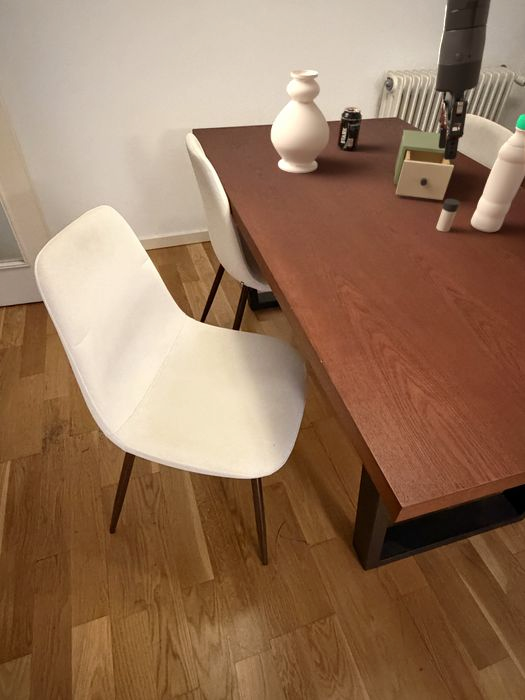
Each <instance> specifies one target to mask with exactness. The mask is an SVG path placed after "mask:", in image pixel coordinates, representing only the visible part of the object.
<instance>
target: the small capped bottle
mask: <svg viewBox="0 0 525 700" xmlns="http://www.w3.org/2000/svg"><path fill="white" fill-rule="evenodd" d="M460 204H461V202H460V201H459V200H458V199H455V198H446V199H445V200H444V202H443V205H442V209H441V212H440V215H439V218H438V220H437V224H436V227H435V228H436V230H437V231H439V232H442V233H447V232H450V230H451V228H452V225H453V222H454V219H455V216H456V214H457V211H458V210H459V208H460Z"/></svg>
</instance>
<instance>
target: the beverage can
mask: <svg viewBox="0 0 525 700" xmlns="http://www.w3.org/2000/svg"><path fill="white" fill-rule="evenodd" d="M361 112H362V109H361V108H359V107H355V106H354V107H353V106H349V107H348V106H347V107H344V108H343V112H341V115H340V121H339V129H338V137H337V144H336V145H337V147H338V148H339V149H340V150H342V151H347V152H348V151H353V150H354V149H356V148H357V147H358V142H359V136H360V130H361V124H362V118H363V114H362V113H361Z"/></svg>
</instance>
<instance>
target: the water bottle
mask: <svg viewBox="0 0 525 700" xmlns="http://www.w3.org/2000/svg"><path fill="white" fill-rule="evenodd" d="M524 179H525V113H523V114H520V116H518V119H517V121H516V124H515V132H514V133H513V134H512V135H511V136H510V137H509V138H508V140H507V141H506V142H505V143H504V144H502V146H501V147H500V148H499V150H498V154H497V158H496V159H495V162H494V164H493V166H492V167H491V170H490V173H489V176H488V177H487V181H486V183H485V186H484V188H483V192H482V194H481V196H480V198H479V200H478V202H477V205H476V209H475V211H474V212H473V215H472V217H471V219H470V225H471V226H472V227H473V228H474V229H475V230H477V231H480V232H483V233H495V232H497V231H499V230H500V229H501V228H502V226H503V223H504V221H505V218H506V215H507V214H508V212H509V211H510V209H511V206H512V202H513V200H514V198H515V197H516V195H517V193H518V191H519V189H520V187H521V185H522V182H523V181H524Z"/></svg>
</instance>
